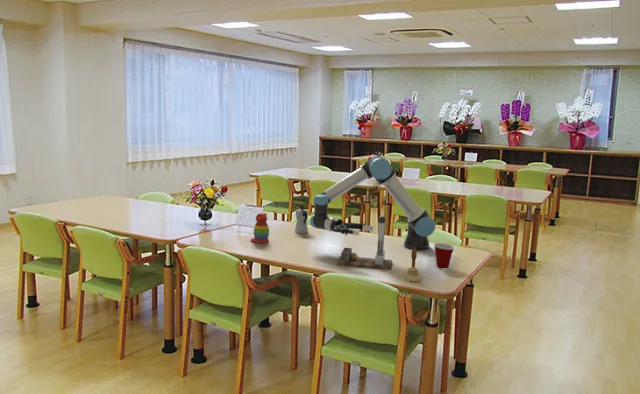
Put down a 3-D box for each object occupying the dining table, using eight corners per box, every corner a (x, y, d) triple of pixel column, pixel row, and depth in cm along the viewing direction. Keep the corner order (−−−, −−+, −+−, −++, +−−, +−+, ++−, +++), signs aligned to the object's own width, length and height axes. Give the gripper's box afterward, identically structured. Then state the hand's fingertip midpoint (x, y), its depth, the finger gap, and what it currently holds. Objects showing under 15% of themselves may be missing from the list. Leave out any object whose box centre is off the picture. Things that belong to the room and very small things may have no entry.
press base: (391, 262, 294) (392, 250, 293) (390, 269, 281) (390, 257, 280) (340, 258, 300) (341, 246, 298) (336, 265, 286) (337, 253, 285)
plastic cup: (453, 271, 282) (455, 248, 280) (432, 269, 284) (434, 247, 282) (453, 265, 292) (454, 243, 290) (432, 263, 294) (433, 242, 292)
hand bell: (402, 276, 269) (404, 245, 267) (418, 276, 270) (420, 245, 268) (406, 282, 261) (408, 250, 259) (423, 282, 262) (425, 250, 259)
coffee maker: (291, 230, 364) (292, 204, 361) (304, 229, 367) (304, 203, 364) (299, 235, 350) (300, 208, 347) (312, 234, 354) (313, 207, 351)
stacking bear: (265, 239, 338) (265, 211, 335) (272, 242, 330) (273, 213, 327) (249, 241, 332) (249, 212, 329) (256, 244, 324) (257, 215, 321)
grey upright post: (384, 259, 293) (386, 214, 289) (382, 265, 282) (384, 218, 278) (377, 258, 294) (379, 214, 290) (375, 264, 283) (377, 218, 279)
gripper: (347, 228, 315) (378, 234, 302) (320, 235, 296) (352, 241, 283) (347, 215, 314) (378, 220, 301) (320, 221, 294) (352, 227, 281)
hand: (365, 231), depth 292 cm, fingers open, 13 cm apart
